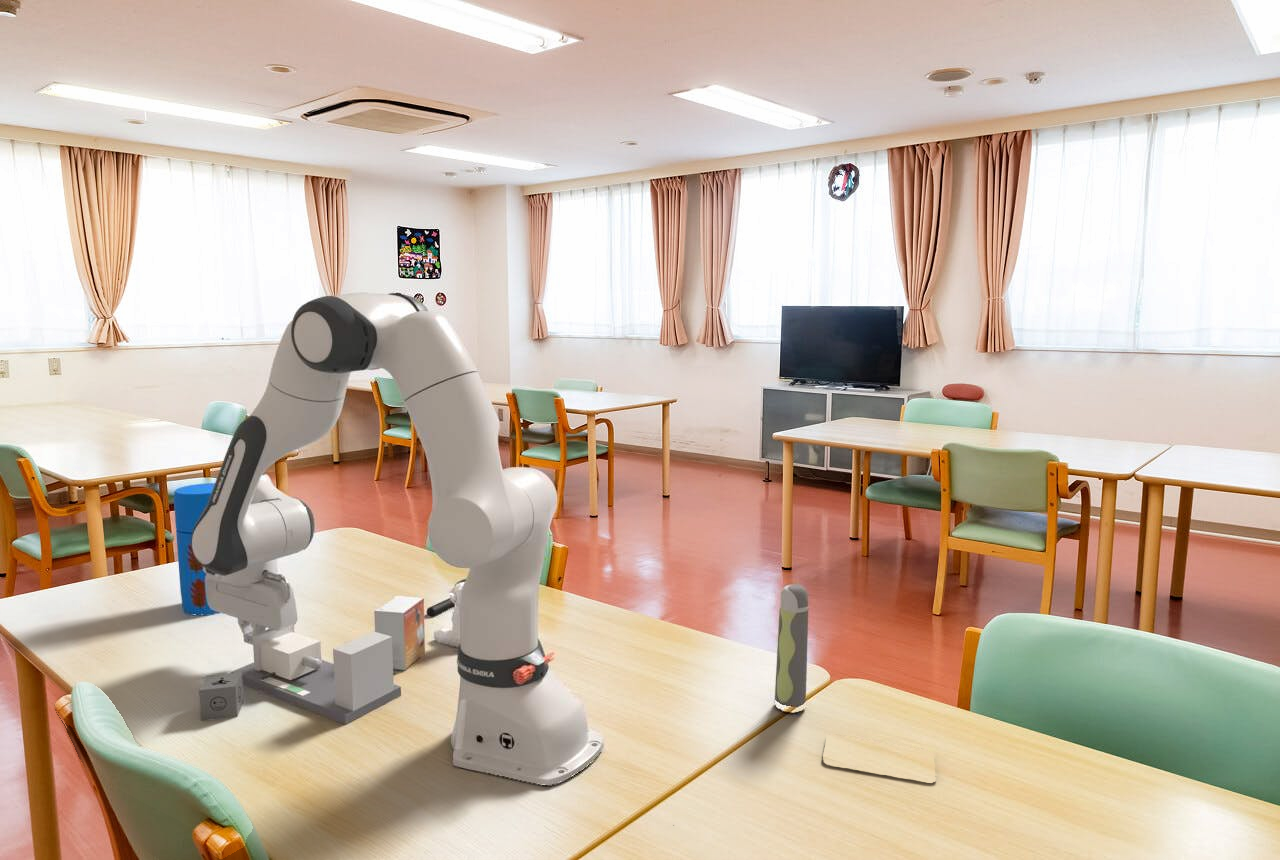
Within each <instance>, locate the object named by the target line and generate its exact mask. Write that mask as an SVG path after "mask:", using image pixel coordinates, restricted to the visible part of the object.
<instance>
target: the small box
mask: <svg viewBox="0 0 1280 860" xmlns="http://www.w3.org/2000/svg"><path fill="white" fill-rule="evenodd" d="M424 601H425V599H424V597H416V596H405V595H395V596H394V597H393V598H392V599H391V600H389V601H387V602H386V603H385V604H383V605H382V606H380V607H379V608H377V609H375V610H373V611H374V612H373V613H374V616H373V617H374V632H378V633H381V634H384V635H388V636H391V637H392V653H393V670H397V671H406V670H407V669H408V668H409V667H410V666H412V665H413V663H415V662H416V661H417V660H418V659H419V658H421V657H422V656H423V655H425V653H426V643H425V642H426V639H425V638H426V637H425V602H424Z"/></svg>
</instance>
